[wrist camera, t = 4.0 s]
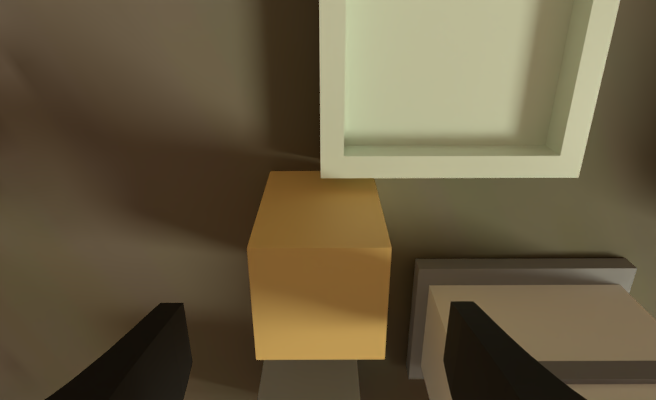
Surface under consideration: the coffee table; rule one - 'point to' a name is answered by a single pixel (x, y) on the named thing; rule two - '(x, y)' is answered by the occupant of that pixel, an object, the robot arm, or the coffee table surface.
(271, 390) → the slate block
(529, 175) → the sage tray
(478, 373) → the robot arm
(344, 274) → the ochre block
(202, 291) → the coffee table surface
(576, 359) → the cream unit
